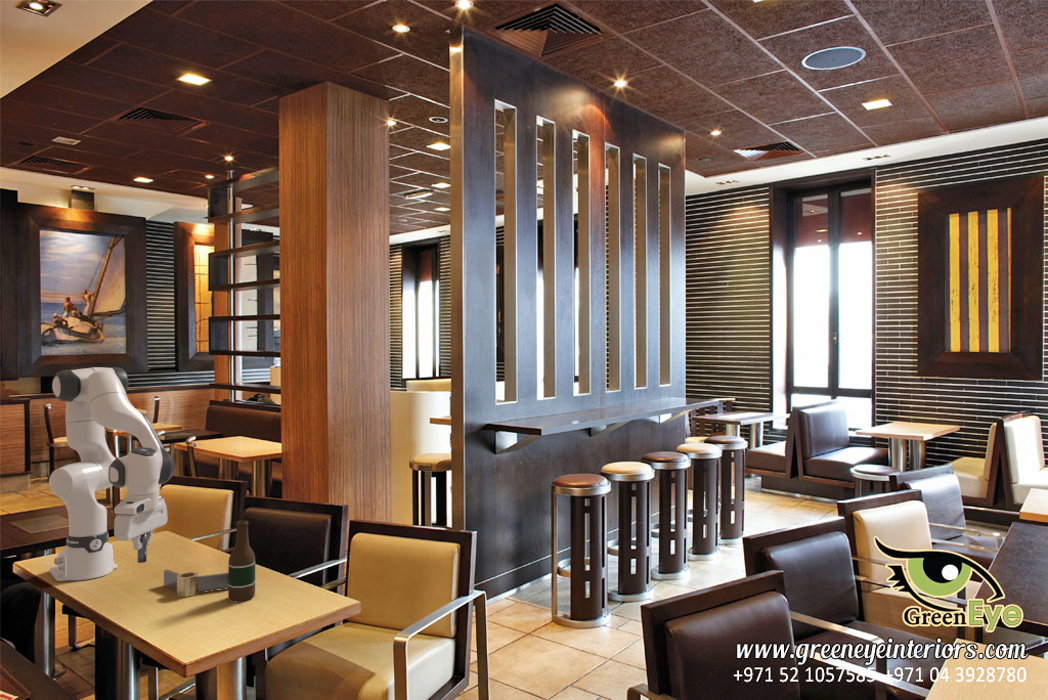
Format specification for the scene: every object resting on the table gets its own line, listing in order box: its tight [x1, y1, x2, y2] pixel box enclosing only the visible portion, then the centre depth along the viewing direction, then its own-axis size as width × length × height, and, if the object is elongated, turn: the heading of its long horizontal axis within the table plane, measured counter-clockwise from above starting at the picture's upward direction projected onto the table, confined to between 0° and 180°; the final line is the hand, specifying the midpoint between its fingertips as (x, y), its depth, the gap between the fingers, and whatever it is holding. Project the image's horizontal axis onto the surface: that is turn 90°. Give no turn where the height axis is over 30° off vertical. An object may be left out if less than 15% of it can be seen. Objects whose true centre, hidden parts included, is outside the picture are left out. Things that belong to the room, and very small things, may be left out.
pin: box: [137, 533, 148, 564], centre depth 208 cm, size 2×2×9 cm
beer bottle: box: [227, 519, 256, 603], centre depth 214 cm, size 8×8×24 cm
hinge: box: [163, 569, 228, 598], centre depth 223 cm, size 21×15×6 cm
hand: (142, 547), depth 208 cm, fingers closed on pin, 2 cm apart
